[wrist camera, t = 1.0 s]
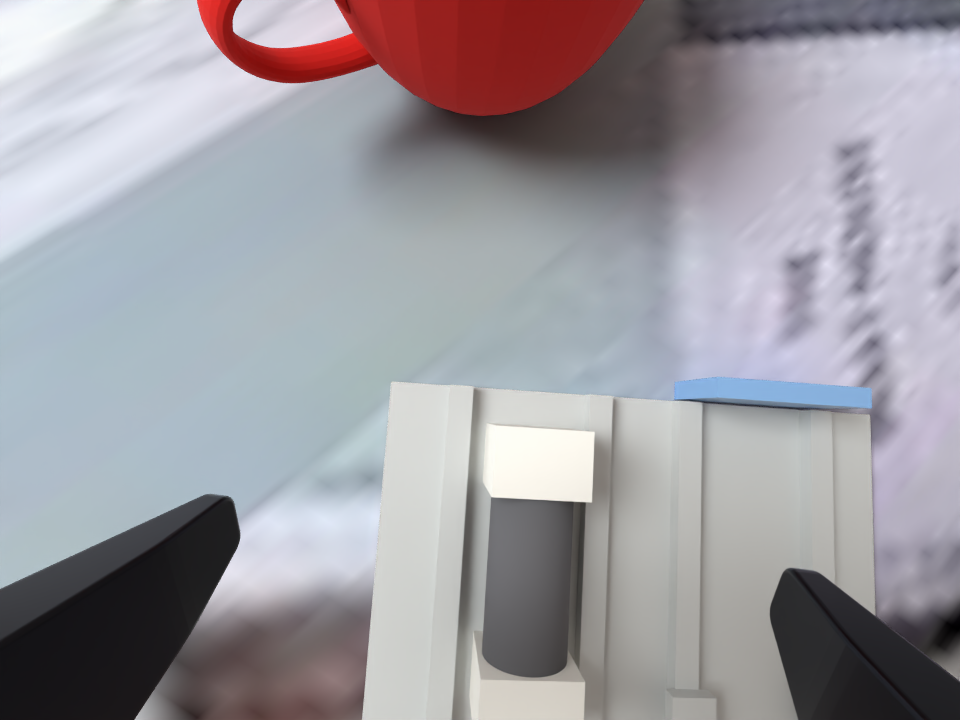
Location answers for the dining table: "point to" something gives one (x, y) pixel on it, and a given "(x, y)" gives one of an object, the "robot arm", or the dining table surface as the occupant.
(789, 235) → the dining table surface
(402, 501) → the white ribbed plate
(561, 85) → the ceramic cup
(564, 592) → the cream and grey dumbbell
